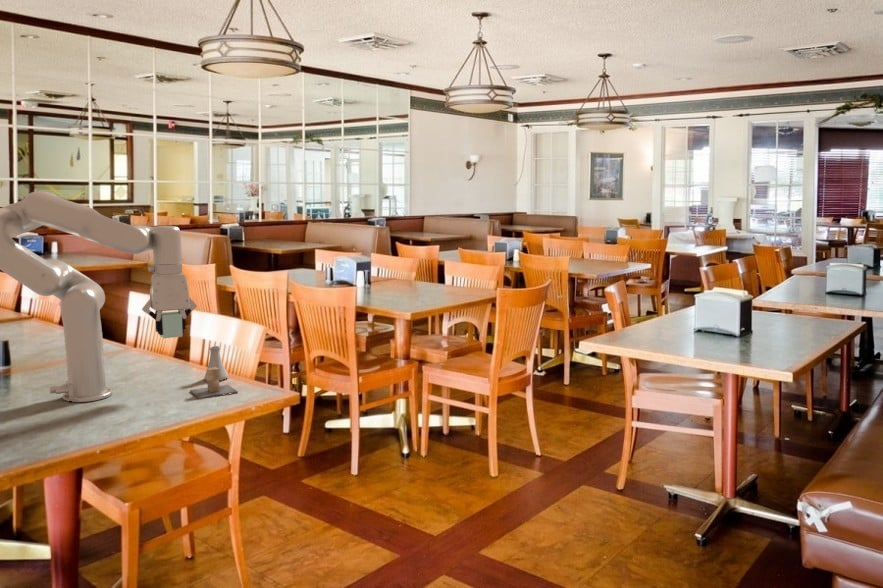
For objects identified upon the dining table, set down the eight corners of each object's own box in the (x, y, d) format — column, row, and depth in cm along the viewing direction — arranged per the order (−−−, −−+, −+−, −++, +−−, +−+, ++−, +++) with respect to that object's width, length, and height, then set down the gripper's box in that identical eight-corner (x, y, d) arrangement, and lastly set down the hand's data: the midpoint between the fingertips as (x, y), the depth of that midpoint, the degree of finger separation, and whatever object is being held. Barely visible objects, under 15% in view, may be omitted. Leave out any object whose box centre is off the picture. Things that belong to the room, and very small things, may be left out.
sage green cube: (163, 338, 213) (162, 315, 212) (159, 335, 218) (158, 312, 217) (182, 336, 216) (181, 313, 215) (178, 333, 220) (177, 311, 220)
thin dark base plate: (198, 399, 211) (197, 374, 210) (190, 391, 218) (188, 367, 217) (237, 393, 217) (236, 369, 216) (228, 386, 224) (227, 363, 223)
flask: (221, 382, 228) (219, 350, 227) (199, 381, 230) (197, 349, 228) (232, 376, 235) (231, 345, 234) (211, 375, 237) (209, 344, 235)
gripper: (138, 272, 207) (142, 338, 209) (202, 269, 216) (204, 332, 218) (133, 270, 213) (136, 334, 215) (195, 267, 222) (197, 328, 225)
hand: (170, 332), depth 217 cm, fingers closed on sage green cube, 5 cm apart
